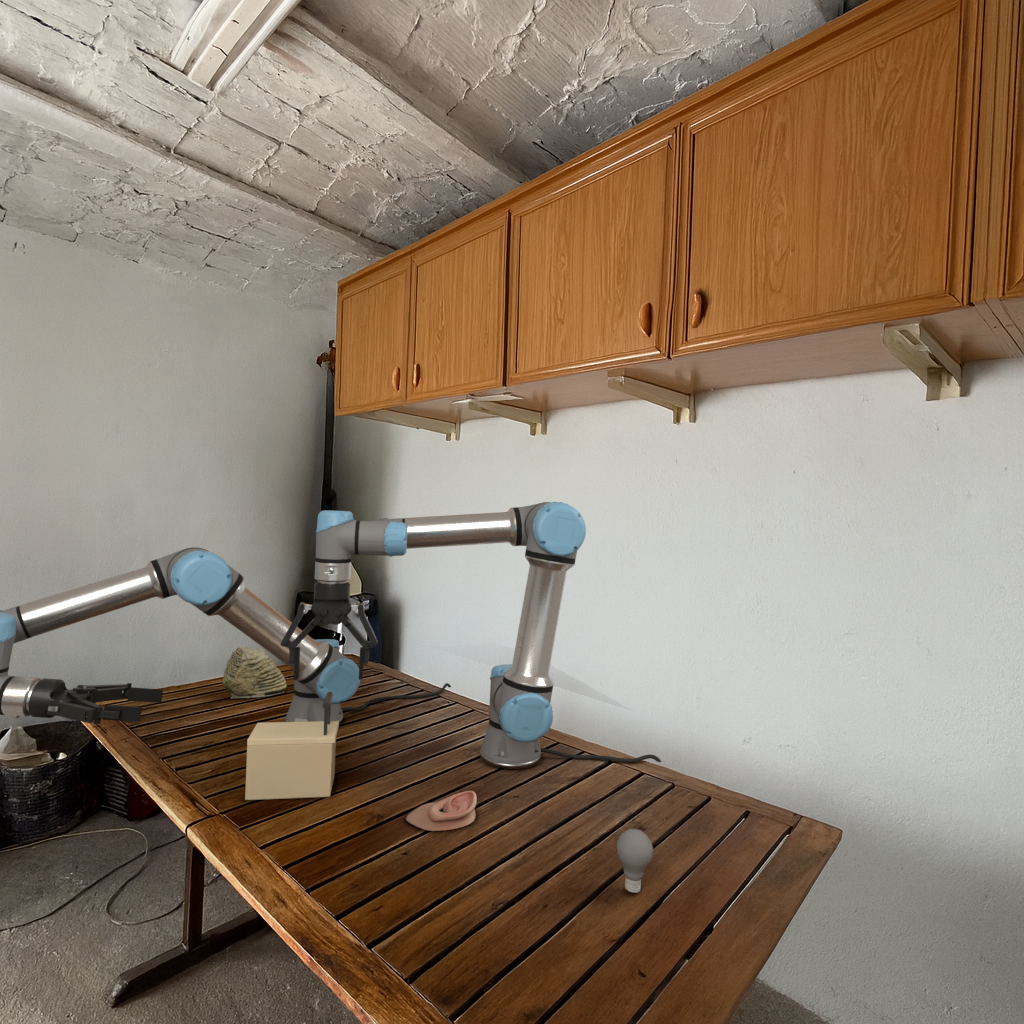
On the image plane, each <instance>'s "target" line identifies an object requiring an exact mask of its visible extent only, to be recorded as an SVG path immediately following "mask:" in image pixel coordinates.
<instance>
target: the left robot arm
mask: <svg viewBox="0 0 1024 1024" xmlns="http://www.w3.org/2000/svg"><path fill="white" fill-rule="evenodd" d="M175 596H178V597H179V598H180V599H181V600H182V601H184V602H186V603H188V604H191V605H192V606H193V607H195V608H196V609H198V610H199V611H201V612H202V613H203V614H205V615H206V616H208V617H211V616H212V617H213V616H219V617H220V618H223V619H224V621H226V622H228V623H229V624H230V625H232V626H233V627H234V628H235V629H237V630H239V631H240V632H241V633H242V634H244V635H246V636H247V637H248V638H249V639H251V640H252V641H253V642H255V643H256V644H258V645H259V646H261V647H262V649H264V650H266V651H267V652H269V653H270V654H271V655H272V656H274V657H275V658H277V659H278V660H279V661H281V662H282V663H284V664H285V665H286V666H288V667H289V668H290V669H291V670H293V671H294V664H290V663H289V648H287V647H285V646H284V647H283V646H281V642H282V640H283V638H284V636H285V634H286V633H287V631H288V629H289V627H290V626H291V624H292V622H293V621H291V620H289V619H288V618H287V617H285V616H284V615H283V614H282V613H280V612H279V611H278V610H276V609H275V608H274V607H272V606H271V605H270V604H268V602H266V601H265V600H264V599H262V598H261V597H259V596H258V595H257V594H256V593H254V592H253V591H252V590H250V589H249V588H247V586H246V585H245V576H243V575H242V574H241V573H239V572H238V571H237V570H236V569H234V568H233V567H232V566H231V565H229V564H228V563H227V561H226V560H225V559H224V558H222V557H221V556H219V555H218V554H217V553H214V552H212V551H209V550H207V549H205V548H203V547H194V546H192V547H186V548H183V549H180V550H177V551H175V552H173V553H170V554H167V555H164V556H161V557H159V558H156V559H153V560H149V561H148V563H147V564H146V565H145V566H144V567H141V568H138V569H135V570H131V571H128V572H124V573H122V574H118V575H115V576H113V577H112V576H111V577H108V578H105V579H102V580H97V581H95V582H92V583H90V584H85V585H82V586H79V587H76V588H75V587H74V588H73V589H69V590H65V591H62V592H59V593H56V594H52V595H50V596H46V597H43V598H40V599H39V598H38V599H36V600H32V601H29V602H26V603H23V604H20V605H17V606H13V607H9V608H6V609H0V716H13V718H14V719H19V718H20V717H30V716H31V717H32V718H44V719H52V718H54V717H61V718H65V719H70V720H73V721H77V722H81V723H86V724H92V723H93V725H101V721H118V722H137V723H139V722H140V721H141V717H142V710H143V707H142V706H133V705H119V704H117V705H116V704H105V705H104V706H102V705H100V704H97V703H103V702H111V701H119V700H127V701H128V702H142V703H143V702H144V703H157V704H160V703H162V699H163V693H164V689H161V688H148V687H147V688H145V687H135V686H134V687H132V685H133V684H132V683H131V682H127V683H123V684H122V683H120V684H119V683H118V684H96V685H94V684H93V685H92V684H91V685H90V684H89V685H87V684H86V685H85V684H77V686H76V687H73V688H72V689H71V688H70V689H68V688H67V686H66V682H65V681H64V680H63V679H61V678H47V677H46V678H45V677H44V678H40V677H36V676H35V677H34V676H33V677H32V676H20V675H19V676H17V675H9V670H10V664H11V663H10V662H11V658H12V653H13V647H14V644H17V643H19V642H22V641H25V640H28V639H31V638H34V637H37V636H40V635H43V634H46V633H50V632H52V631H55V630H59V629H61V628H64V627H68V626H71V625H73V624H76V623H80V622H83V621H87V620H89V619H92V618H95V617H98V616H101V615H104V614H107V613H110V612H113V611H116V610H120V609H123V608H125V607H129V606H132V605H135V604H138V603H141V602H144V601H147V600H150V599H155V598H159V599H162V600H164V599H167V598H170V597H175ZM302 631H303V630H302V629H301V628H300V627H299V626H297V627H296V629H295V631H294V633H293V634H292V636H291V638H290V641H294V640H295V638H296V637H297V636H298V635H299V634H300V633H301V632H302ZM296 647H300V665H299V678H298V680H294V679H293V695H292V696H293V697H292V699H291V702H290V704H289V708H288V711H287V713H286V715H285V722H317V721H324V708H323V703H324V700H325V697H326V694H327V693H328V692H332V693H333V697H332V701H331V714H330V721H339V726H340V725H342V723H343V722H344V714H343V712H346V711H361V710H362V711H363V710H364V709H367V707H368V705H369V704H371V703H373V702H377V701H378V702H379V701H383V700H384V701H385V700H394V699H395V700H396V699H419V698H429V697H433V696H437V695H440V694H442V693H443V692H444V691H445V689H446V688H451V687H452V685H451V684H450V683H448V682H445V683H444V685H443V686H442V687H441V688H440V689H439V690H438V691H434V692H431V693H430V692H429V693H423V694H412V695H411V694H410V695H409V694H408V695H407V694H405V695H402V694H401V695H400V694H399V695H388V696H379V697H373V698H371V699H368V700H367V701H365V703H364V704H363V705H361V706H357V707H354V706H353V707H352V706H350V707H349V706H348V707H347V706H346V707H342V706H341V704H342V703H345V702H347V701H348V700H350V699H351V698H352V697H353V696H354V695H356V693H357V691H358V690H359V687H360V684H361V680H359V666H358V665H357V663H356V662H355V661H354V660H353V659H352V658H351V659H350V658H348V657H347V656H346V655H344V654H343V653H342V652H340V648H341V647H340V643H339V641H338V640H337V639H332V638H324V639H322V638H320V639H314V638H312V637H311V636H310V635H309V634H307V636H306V637H305V638H304V639H303V640H302V641H301V642H300V643H299V644H298V645H297V646H296Z"/></svg>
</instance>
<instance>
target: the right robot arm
mask: <svg viewBox="0 0 1024 1024" xmlns="http://www.w3.org/2000/svg"><path fill="white" fill-rule="evenodd" d="M316 521H317V524H316V530H315V560H314V561H315V564H314V580H316V581H315V583H314V586H313V588H314V589H313V602H312V603H306V602H304V601H301V602H300V603H299V604H298V606H297V611H296V615H295V617H294V619H293V620H292V621H291V622H292V624H291V626H290V627H289V629H288V631H287V633H286V634H285V636H284V638H283V640H282V642H281V646H283V647H284V646H285V647H287V648H289V663H290V664H294V670H293V681H294V680H298V678H299V665H300V647H296V646H297V645H298V644H299V643H300V642H301V641H302V640H303V639H304V638H305V637H306V636H307V635H309V634H310V632H311V631H312V630H313V629H314V628H315V627H317V626H318V624H319V623H320V624H322V625H324V626H325V625H326V626H327V625H334V626H338V625H340V624H342V625H343V627H345V628H346V629H347V630H348V631H349V633H350V634H351V635H352V637H354V639H355V640H356V641H357V642H358V643H359V644H360V648H359V664H358V665H359V666H358V668H359V680H360V681H362V680H363V678H364V664H365V665H366V664H368V663H369V662H370V661H369V660H370V649H371V648H374V647H375V648H376V647H377V646H378V643H379V640H378V638H377V636H376V634H375V632H374V629H373V628H372V625H371V623H370V621H369V619H368V616H367V615H366V613H365V604H364V603H363V602H359V603H358V604H351V600H350V599H351V583H350V582H349V581H350V580H351V577H352V555H355V556H359V555H363V556H384V557H389V558H390V557H391V558H392V557H402V556H405V555H406V553H407V551H408V550H411V549H425V548H428V549H429V548H442V547H445V548H446V547H458V546H459V547H461V546H475V545H491V544H507V543H508V544H510V546H512V547H525V551H524V552H525V553H524V557H525V559H526V560H527V562H528V564H529V567H528V572H527V573H528V574H527V578H526V584H525V590H524V595H523V602H522V608H521V612H520V613H521V614H520V618H519V623H518V631H517V635H516V641H515V647H514V651H513V658H512V663H511V664H510V663H509V664H508V663H506V664H504V663H503V664H498V665H494V666H493V667H492V668H491V670H490V677H489V680H490V685H489V686H490V687H489V688H490V689H489V708H488V711H489V712H488V725H487V729H486V732H485V734H484V737H483V740H482V742H481V745H480V751H479V757H480V759H481V761H482V762H484V763H485V764H487V765H488V766H491V767H494V768H498V769H503V770H524V769H529V768H532V767H534V766H537V765H538V764H539V763H540V762H541V760H542V753H544V754H549V755H554V756H559V757H563V758H567V759H574V760H576V759H577V760H603V761H611V762H618V763H631V764H632V763H638V762H642V761H644V760H649V759H652V760H654V761H656V762H657V763H662V760H661V759H660V757H658V756H656V755H655V754H650V753H649V754H644V755H640V756H638V757H633V758H625V757H616V756H610V755H599V754H598V755H597V754H574V753H573V754H571V753H566V752H562V751H559V750H554V749H549V748H544V747H541V745H540V741H539V740H540V739H542V738H543V737H544V736H545V735H547V733H548V732H549V731H550V729H551V728H552V725H553V721H554V711H553V706H552V705H551V701H552V696H553V689H554V684H555V682H554V680H553V678H552V677H551V675H550V669H551V663H552V656H553V652H554V645H555V639H556V635H557V629H558V623H559V618H560V612H561V606H562V600H563V595H564V589H565V583H566V577H567V573H568V571H569V570H570V569H572V568H573V567H575V564H576V559H577V553H578V550H579V549H580V548H581V547H582V545H583V543H584V541H585V539H586V533H587V527H586V522H585V519H584V517H583V515H582V514H581V513H580V512H579V511H578V510H577V509H576V508H575V507H573V506H571V505H570V504H568V503H565V502H562V501H543V502H539V503H534V504H531V505H523V506H517V507H515V506H514V507H510V508H509V509H507V511H501V512H500V511H499V512H484V513H483V512H482V513H465V514H450V515H433V516H415V517H404V518H403V517H402V518H401V517H400V518H378V519H376V520H357V519H355V518H354V514H353V512H352V511H349V510H333V509H332V510H331V509H329V510H326V509H324V510H321V511H319V513H318V515H317V520H316ZM309 611H311V612H312V613H313V615H314V618H312V620H311V621H310V622H309V623H308V624H307V626H306V627H304V629H303V630H302V632H301V633H300V634H299V635H298V636H297V637H296V638H295V640H294V641H290V638H291V636H292V634H293V633H294V631H295V629H296V627H299V623H300V622H301V620H302V618H303V617H304V615H307V613H308V612H309ZM351 611H353V612H354V614H355V615H358V619H359V621H360V622H361V624H362V627H363V629H364V631H365V633H366V636H367V637H368V639H369V640H367V639H366V637H365V636H364V635H363V633H362V632H361V631H360V630H359V628H357V626H356V625H355V624H354V622H353V621H352V620H351V618H350V617H349V616H348V615H349V614H350V613H351Z"/></svg>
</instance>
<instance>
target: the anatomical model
mask: <svg viewBox="0 0 1024 1024" xmlns="http://www.w3.org/2000/svg"><path fill="white" fill-rule="evenodd" d="M477 803H478V798H477V793H476V792H475V791H473V790H465V791H461V792H458V793H455V794H452V795H450V796H447V797H445V798H443V799H441V800H438V801H436V802H429V803H425V804H422V805H420V806H418V807H416V808H415V809H413V810H412V811H410V813H408V814H407V816H406V817H405V821H406V822H408V823H409V824H410V825H412V826H414V827H416V828H418V829H422V830H425V831H428V832H429V831H430V832H440V831H450V830H456V829H459V828H463V827H466V826H468V825H470V824H472V823H473V822H474V821H475V819H476V810H475V809H476V806H477Z"/></svg>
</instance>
